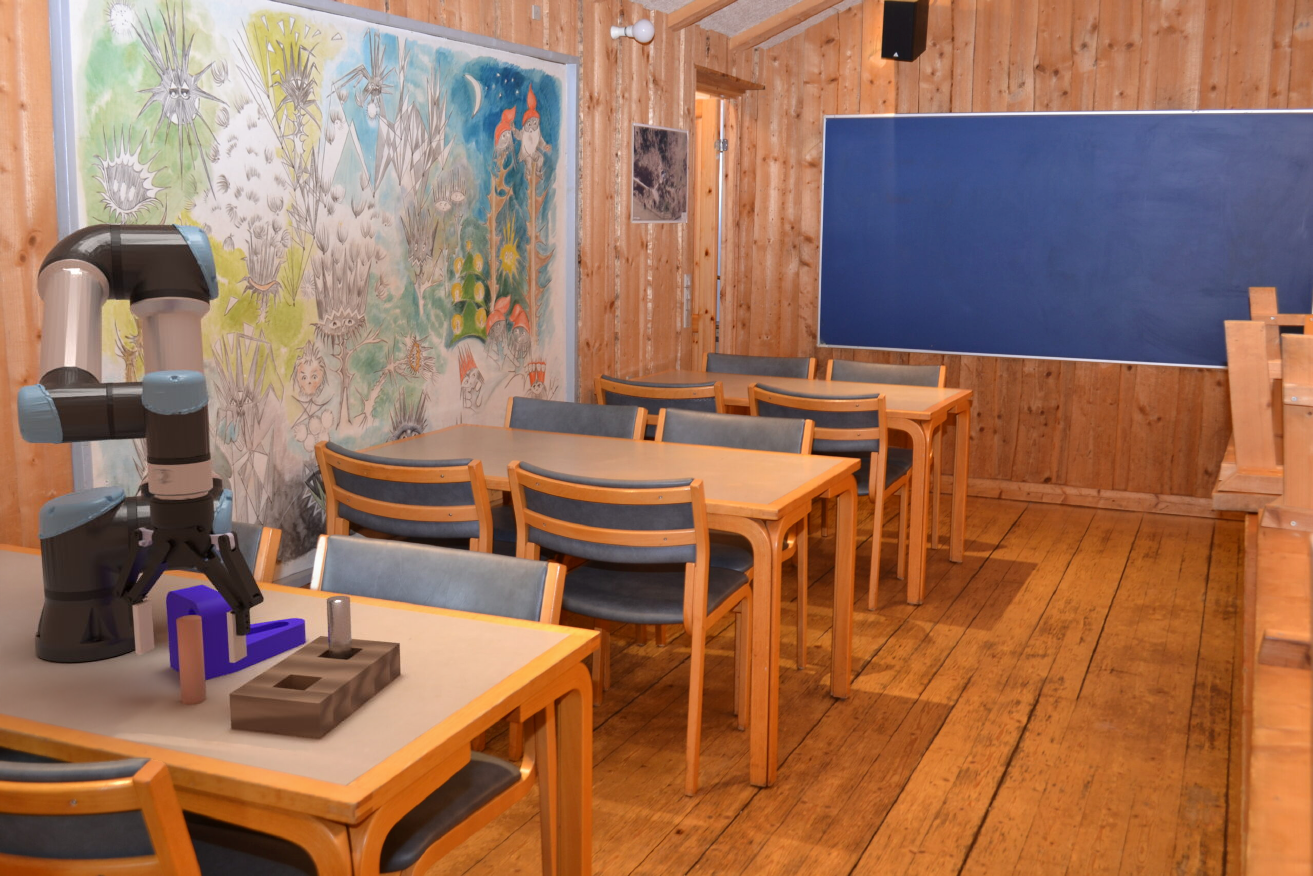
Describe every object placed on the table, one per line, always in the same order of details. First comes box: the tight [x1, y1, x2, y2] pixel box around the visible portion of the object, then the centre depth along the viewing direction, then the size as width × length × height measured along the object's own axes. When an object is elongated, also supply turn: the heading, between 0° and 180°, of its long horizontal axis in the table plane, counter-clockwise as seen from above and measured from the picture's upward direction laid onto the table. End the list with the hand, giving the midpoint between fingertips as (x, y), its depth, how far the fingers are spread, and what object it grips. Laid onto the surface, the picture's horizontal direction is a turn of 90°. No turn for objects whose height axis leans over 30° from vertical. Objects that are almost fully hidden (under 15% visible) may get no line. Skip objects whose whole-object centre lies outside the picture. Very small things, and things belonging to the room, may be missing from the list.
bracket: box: [165, 584, 307, 681], centre depth 168 cm, size 18×11×12 cm, turn 136°
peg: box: [176, 615, 207, 706], centre depth 151 cm, size 3×3×12 cm
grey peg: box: [326, 595, 352, 660], centre depth 156 cm, size 3×3×12 cm
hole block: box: [229, 635, 401, 740], centre depth 152 cm, size 22×12×6 cm, turn 167°
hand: (191, 655), depth 150 cm, fingers open, 13 cm apart
